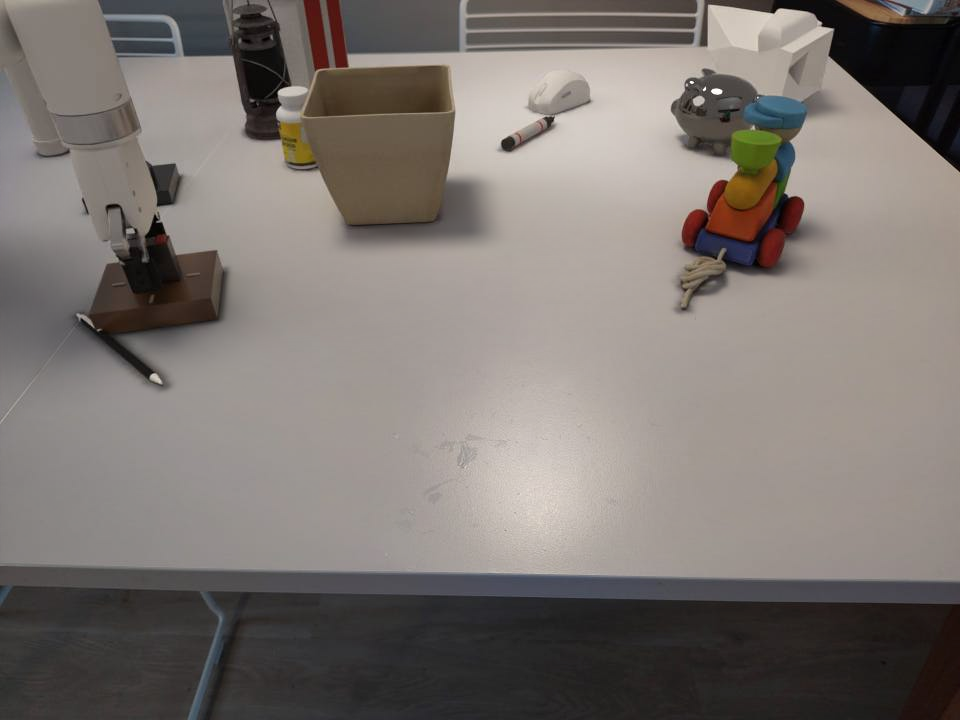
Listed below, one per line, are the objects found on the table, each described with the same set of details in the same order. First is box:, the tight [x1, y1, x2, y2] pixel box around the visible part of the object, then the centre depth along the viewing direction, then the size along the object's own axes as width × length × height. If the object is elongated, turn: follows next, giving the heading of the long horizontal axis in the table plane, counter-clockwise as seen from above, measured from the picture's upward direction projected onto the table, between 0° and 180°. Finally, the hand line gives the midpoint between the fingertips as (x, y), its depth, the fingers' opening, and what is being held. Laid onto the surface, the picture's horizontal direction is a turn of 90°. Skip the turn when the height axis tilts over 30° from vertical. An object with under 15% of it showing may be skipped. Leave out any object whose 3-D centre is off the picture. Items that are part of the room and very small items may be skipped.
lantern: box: [226, 0, 292, 140], centre depth 115 cm, size 12×11×30 cm
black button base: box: [81, 160, 180, 214], centre depth 104 cm, size 12×10×4 cm
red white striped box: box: [221, 0, 350, 102], centre depth 133 cm, size 16×18×27 cm
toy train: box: [679, 95, 809, 310], centre depth 83 cm, size 12×29×17 cm, turn 147°
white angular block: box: [707, 4, 835, 103], centre depth 129 cm, size 17×24×17 cm
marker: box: [500, 115, 556, 151], centre depth 119 cm, size 15×2×2 cm, turn 143°
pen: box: [76, 313, 164, 385], centre depth 75 cm, size 1×19×1 cm, turn 49°
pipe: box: [3, 61, 70, 157], centre depth 109 cm, size 6×6×30 cm
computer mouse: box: [527, 68, 591, 116], centre depth 130 cm, size 6×13×6 cm, turn 132°
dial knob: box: [127, 233, 182, 283], centre depth 78 cm, size 6×2×5 cm, turn 103°
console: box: [88, 249, 224, 335], centre depth 81 cm, size 13×11×3 cm
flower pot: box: [300, 63, 456, 226], centre depth 95 cm, size 19×19×17 cm
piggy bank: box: [670, 67, 765, 156], centre depth 112 cm, size 11×15×12 cm
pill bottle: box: [276, 86, 318, 170], centre depth 109 cm, size 6×6×12 cm
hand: (153, 271), depth 79 cm, fingers open, 7 cm apart
